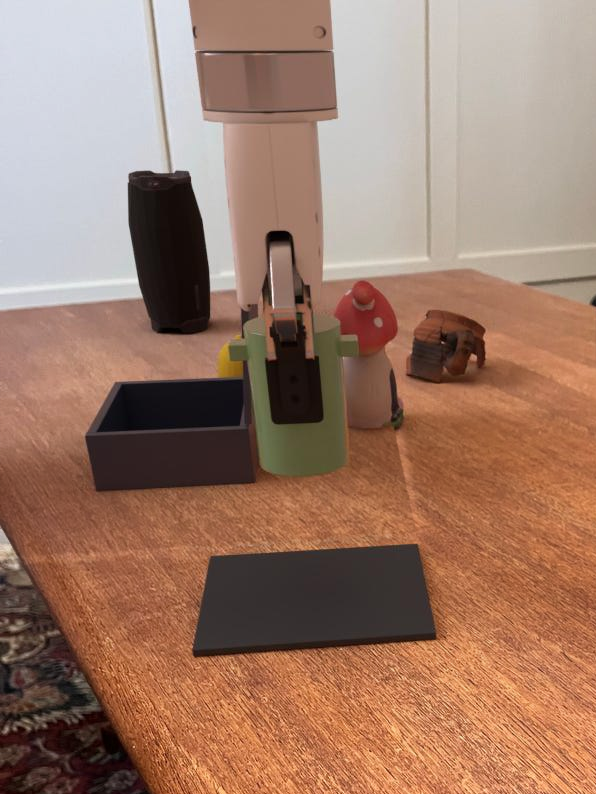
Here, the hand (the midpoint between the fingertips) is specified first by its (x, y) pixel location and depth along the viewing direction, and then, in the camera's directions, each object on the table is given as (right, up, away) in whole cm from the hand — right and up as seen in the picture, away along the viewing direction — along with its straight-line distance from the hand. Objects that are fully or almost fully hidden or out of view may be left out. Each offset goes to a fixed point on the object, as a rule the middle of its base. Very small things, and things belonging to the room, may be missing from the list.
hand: (298, 402), depth 66 cm
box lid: (-9, +13, +24) cm, 29 cm away
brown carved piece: (+8, +16, +55) cm, 58 cm away
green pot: (0, -3, +2) cm, 4 cm away
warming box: (-16, +1, +30) cm, 34 cm away
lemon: (-13, +9, +44) cm, 47 cm away
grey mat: (0, -12, +7) cm, 14 cm away
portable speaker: (-29, +27, +74) cm, 84 cm away
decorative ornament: (+1, +7, +40) cm, 40 cm away
